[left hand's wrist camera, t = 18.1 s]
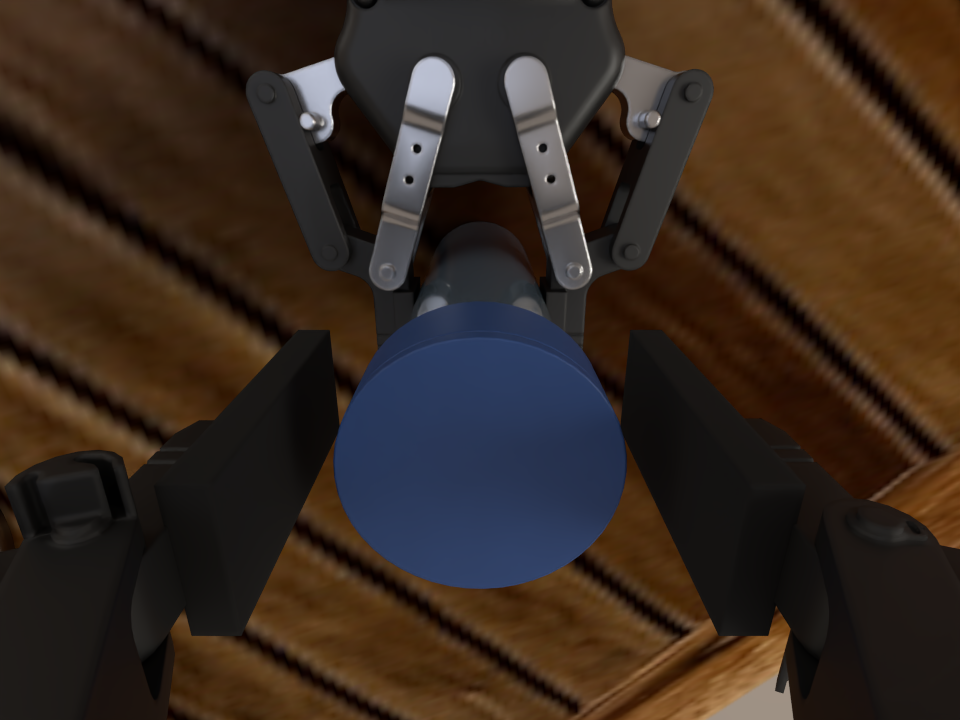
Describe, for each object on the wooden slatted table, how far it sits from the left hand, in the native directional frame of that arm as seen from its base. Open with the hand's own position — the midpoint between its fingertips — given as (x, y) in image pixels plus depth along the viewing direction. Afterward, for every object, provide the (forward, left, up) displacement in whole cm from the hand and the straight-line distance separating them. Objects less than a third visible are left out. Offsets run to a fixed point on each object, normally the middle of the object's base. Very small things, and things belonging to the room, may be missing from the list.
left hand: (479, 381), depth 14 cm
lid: (0, 0, +4) cm, 4 cm away
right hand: (+2, -2, -6) cm, 7 cm away
